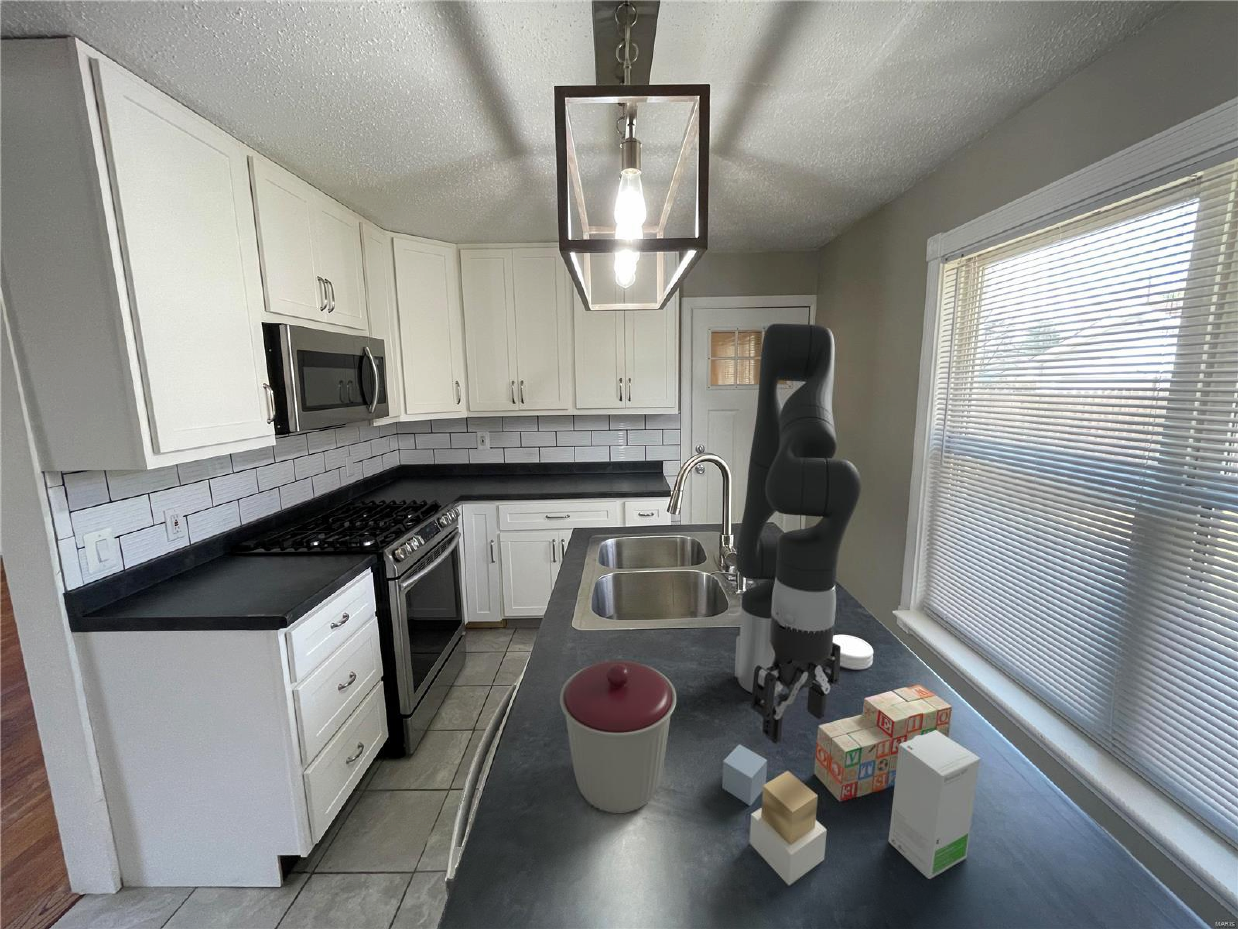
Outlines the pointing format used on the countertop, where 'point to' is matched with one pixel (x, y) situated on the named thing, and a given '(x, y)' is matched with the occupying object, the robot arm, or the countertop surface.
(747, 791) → the slate cube
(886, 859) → the countertop surface
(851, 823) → the countertop surface
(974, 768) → the skincare box
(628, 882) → the countertop surface
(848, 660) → the white thick disc
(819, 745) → the stack of blocks
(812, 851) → the base block
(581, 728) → the canister
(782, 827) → the maple cube
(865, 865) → the countertop surface
